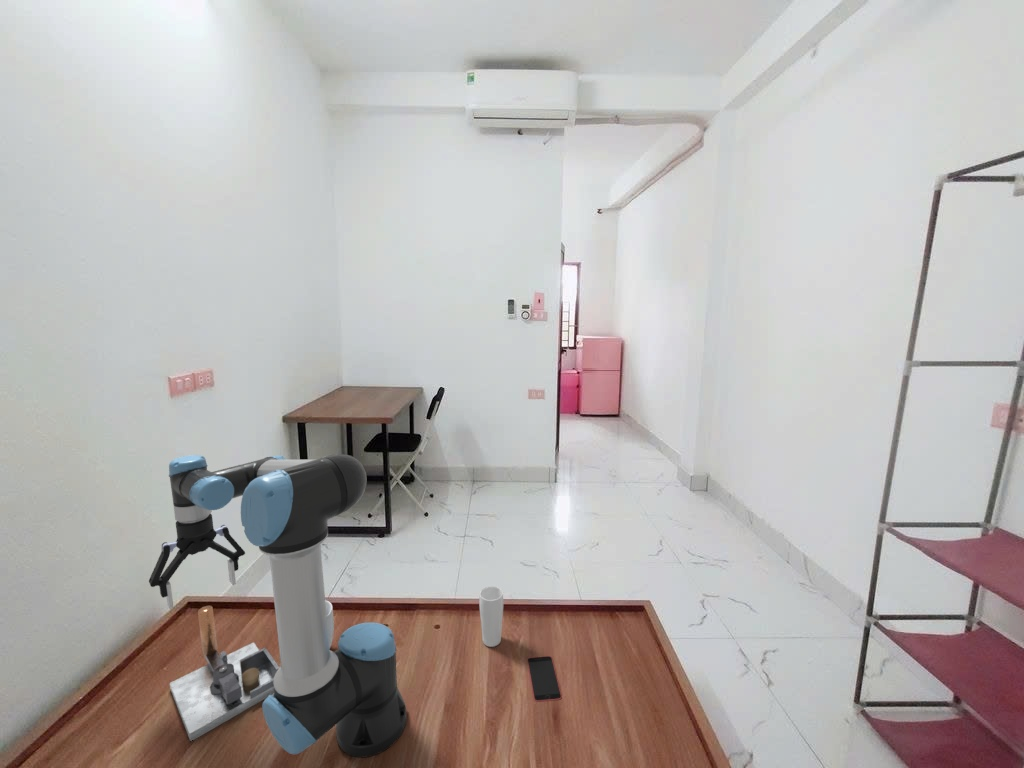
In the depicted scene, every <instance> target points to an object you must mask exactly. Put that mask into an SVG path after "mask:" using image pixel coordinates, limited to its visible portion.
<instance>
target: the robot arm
mask: <svg viewBox="0 0 1024 768" xmlns="http://www.w3.org/2000/svg"><path fill="white" fill-rule="evenodd" d="M206 460H207V459H206V457H205V456H203V455H200V454H191V455H184V456H180V457H177V458H174V459H172V460H171V461H170V462H169V464H168V471H169V472H168V473H169V474H168V477H169V482H170V488H171V498H172V504H173V512H174V513H173V514H174V519H175V531H176V537H177V538H176V541H174V542H167V541H165V542H163V543H162V544H161V553H160V554H159V557H158V559H157V561H156V564H155V565H154V568H153V571H152V573H151V575H150V577H149V580H148V583H149V585H150V587H151V588H155V587H159V593H160V596H161V597H162V598H166V603H167V607H168V609H169V610H172V609H174V608H175V607H174V600H173V592H172V591H173V590H172V586H171V582H170V579H171V578H172V577H173V575H174V574H175V572H176V571H177V570H178V568H179V567H180V565H181V564H183V561H185V560H186V559H187V557H188V556H189V555H191V556H194V555H196V554H198V553H200V552H201V553H203V552H206V551H207V550H208V549H209V548H210V549H212V550H215V551H216V552H218V553H219V554H222V555H223V556H225V557H227V558H226V561H227V568H228V569H227V570H228V578H229V579H228V581H229V582H230V583H231V585H232V586H234V585H237V583H236V573H235V572H236V571H239V558H240V557H242V556H245V555H246V552H245V550H244V549H243V548H242V546H240V544H238V542H237V541H236V540H235V539H234V538H233V536H232V535H231V534H230V531H229V528H228V527H227V525H225V524H222V525H221V526H220V527H219V528H216V529H214V521H213V515H212V511H217V510H221V509H222V508H224V507H226V506H227V505H228V504H229V503H231V501H232V500H233V499H235V498H238V497H241V496H242V498H241V500H240V501H241V502H240V521H241V526H242V527H244V530H243V531H244V534H245V537H246V538H247V540H248V541H249V542H250V543H251V544H252V545H253V546H255V547H258V550H259V551H260V552H261V553H263V554H265V555H266V556H269V563H270V572H271V582H272V584H271V585H272V591H273V592H272V593H273V602H274V603H273V604H274V611H275V620H276V630H277V631H276V632H277V640H278V650H279V660H280V666H279V667H280V668H279V669H278V671H277V672H276V674H275V676H274V682H273V683H274V693H273V694H272V695H269V696H268V697H267V698H265V699H264V701H263V702H262V707H261V708H262V714H263V718H264V720H265V722H266V724H267V727H268V729H269V731H270V732H271V734H272V736H273V737H274V739H275V740H276V742H277V743H278V745H279V746H280V747H281V748H282V749H283V750H284V751H285V752H286V753H288V754H290V755H298V754H301V753H302V752H304V751H305V750H307V748H309V747H311V746H312V745H315V743H317V741H318V740H320V738H322V737H323V736H324V735H325V734H326V733H328V732H329V731H330V730H331V729H332V728H333V727H335V725H336V727H335V728H336V729H335V730H336V741H337V744H338V746H339V748H340V749H341V750H342V751H343V752H344V753H345V754H347V755H350V756H352V757H356V758H365V757H371V756H375V755H377V754H380V753H382V752H384V751H386V750H387V749H389V748H390V747H391V746H393V745H394V744H395V743H396V742H397V741H398V739H399V738H400V737H401V735H402V734H403V733H404V730H405V728H406V723H407V708H406V707H407V706H406V702H405V701H404V700H405V699H404V698H403V697H402V694H401V692H400V690H399V688H398V683H397V682H398V681H397V680H398V679H397V677H398V676H397V660H396V659H397V656H396V655H397V654H396V653H397V645H396V642H395V636H394V633H393V630H391V628H390V627H388V626H387V625H384V624H382V623H379V622H378V623H377V622H362V623H358V624H355V625H352V626H351V627H349V628H346V629H345V631H343V632H342V633H341V634H340V637H339V640H338V642H337V647H338V649H336V650H335V651H332V650H330V649H329V638H328V626H327V615H326V603H325V600H326V595H325V594H326V593H325V582H324V570H323V560H322V559H323V558H322V547H321V544H322V543H324V541H325V540H326V539H327V538H328V536H329V528H328V527H329V524H328V520H330V519H333V518H334V517H336V516H340V515H342V514H343V513H345V512H347V511H350V509H352V508H353V507H354V506H356V504H357V503H358V502H359V501H360V500H361V498H362V497H363V495H364V493H365V491H366V488H367V483H368V482H367V481H368V479H367V471H366V470H365V469H366V468H365V467H364V465H363V464H362V463H361V462H360V460H358V459H357V458H355V457H354V456H353V455H349V454H344V453H343V454H328V455H325V456H323V457H321V458H318V459H293V458H292V459H291V458H290V459H286V458H285V457H284V456H282V455H280V454H279V455H273V456H266V457H264V458H261V459H257V460H253V461H250V462H247V463H243V464H238V465H234V466H229V467H226V468H222V469H218V470H215V471H210V470H208V464H207V461H206ZM217 535H219V536H220V537H224V539H225V540H227V541H228V543H229V544H230V545H231V546H232V547H233V548H234V550H235V551H234V552H233V551H232V550H230V549H229V548H227V547H226V546H225V547H224V545H221V544H219V542H216V541H214V540H215V538H216V537H217ZM175 548H178V551H177V552H176V555H175V556H174V558H173V559H172V560H171V562H170V563H169V564H168V566H167V567H166V565H167V562H168V560H169V557H170V554H171V553H173V551H174V549H175ZM165 567H166V568H165Z"/></svg>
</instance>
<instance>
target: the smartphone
mask: <svg viewBox="0 0 1024 768" xmlns="http://www.w3.org/2000/svg"><path fill="white" fill-rule="evenodd" d="M526 662H527V666H528V673H529V679H530V684H531V689H532V695H533V696H532V697H533V700H534V701H535V702H548V701H550V702H552V701H558V700H561V699H562V698H563V697H562V692H561V687H560V685H559V684H560V683H559V680H558V676H557V673H556V667H555V663H554V660H553V657H552V656H550V655H545V656H533V657H528V658H527V659H526Z"/></svg>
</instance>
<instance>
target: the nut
mask: <svg viewBox="0 0 1024 768" xmlns="http://www.w3.org/2000/svg"><path fill="white" fill-rule="evenodd" d="M259 683H260V681H259V671H258V669H257V668H251V669H248V670H246V671H245V672H244V673H243V674H242V685H243V690H244V691H251V690H253V689H255V688H256V687H257V686H258V685H259Z"/></svg>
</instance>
